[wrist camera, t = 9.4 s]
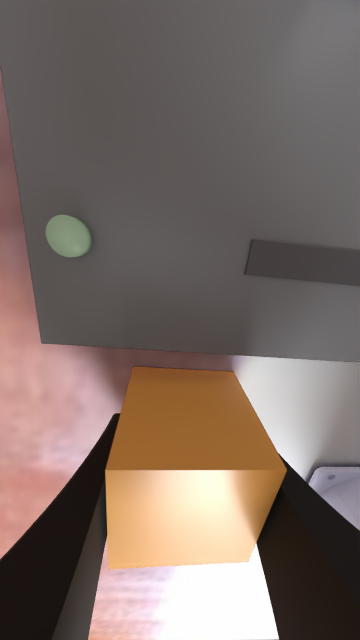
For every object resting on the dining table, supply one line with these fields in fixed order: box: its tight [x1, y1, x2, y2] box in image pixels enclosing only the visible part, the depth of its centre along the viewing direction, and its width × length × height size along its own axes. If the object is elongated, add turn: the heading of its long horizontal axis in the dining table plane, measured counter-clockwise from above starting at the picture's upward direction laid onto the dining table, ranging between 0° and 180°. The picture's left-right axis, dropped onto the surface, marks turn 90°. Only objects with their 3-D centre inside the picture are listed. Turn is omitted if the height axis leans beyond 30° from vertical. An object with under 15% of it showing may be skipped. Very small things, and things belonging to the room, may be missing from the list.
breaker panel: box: [0, 0, 360, 362], centre depth 6 cm, size 20×16×2 cm
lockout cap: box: [105, 367, 287, 569], centre depth 9 cm, size 5×5×5 cm
